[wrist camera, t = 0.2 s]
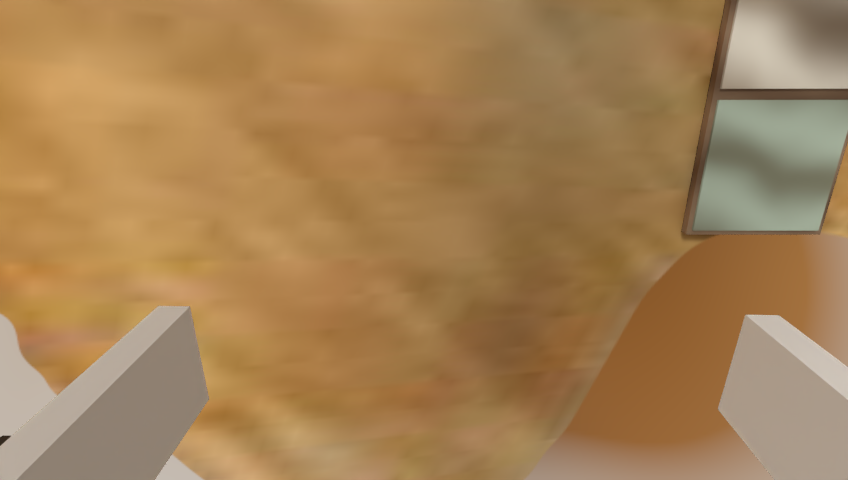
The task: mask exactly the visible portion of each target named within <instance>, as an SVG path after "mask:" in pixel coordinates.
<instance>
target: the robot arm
mask: <svg viewBox="0 0 848 480" xmlns="http://www.w3.org/2000/svg"><path fill="white" fill-rule="evenodd" d="M208 400H209V396H208V391H207V387H206V382H205V377H204V372H203V367H202V363H201V358H200V353H199V348H198V343H197V339H196V334H195V329H194V324H193V319H192V315H191V310H190V306H158V307H157V308H156V309H154V310H153V311H152V312H151V313H150V314H149V315H148V316H147V317H145V318H144V319H143V320H142V321H141V322H140V323H139V324H138V325H136V326H135V327H134V328H133V329H132V330H131V331H130V332H128V333H127V334H126V335H125V336H124V337H123V338H122V339H121V340H119V341H118V342H117V343H116V344H115V345H114V346H113V347H112V348H110V349H109V350H108V351H107V352H106V353H105V354H104V355H102V356H101V357H100V358H99V359H98V360H97V361H96V362H95V363H93V364H92V365H91V366H90V367H89V368H88V369H87V370H86V371H84V372H83V373H82V374H81V375H80V376H79V377H78V378H76V379H75V380H74V381H73V382H72V383H71V384H70V385H69V386H67V387H66V388H65V389H64V390H63V391H62V392H61V393H60V394H58V395H57V396H56V397H55V398H54V399H53V400H52V401H51V402H49V403H48V404H47V405H46V406H45V407H44V408H43V409H41V410H40V411H39V412H38V413H37V414H36V415H35V416H33V417H32V418H31V419H30V420H29V421H28V422H27V423H26V424H25V425H23V426H22V427H21V428H20V429H19V430H18V431H17V432H15V434H13V435H12V436H2V437H0V480H155V479H156V477H157V476H158V474H159V473H160V471H161V470H162V468H163V467H164V465H165V464H166V462H167V461H168V459H169V458H170V456H171V455H172V453H173V452H174V450H175V449H176V447H177V446H178V444H179V443H180V441H181V440H182V439H183V437H184V436H185V434H186V433H187V431H188V430H189V428H190V427H191V425H192V424H193V422H194V421H195V419H196V418H197V416H198V415H199V413H200V412H201V410H202V409H203V407H204V406H205V404H206V403H207V401H208ZM718 410H719V411H720V412H721V414H722V415H723V416H724V417H725V419H726V420H727V421H728V422H729V424H730V425H731V426H732V427H733V429H734V430H735V431H736V432H737V434H738V435H739V436H740V437H741V439H742V440H743V441H744V442H745V444H746V445H747V446H748V447H749V449H750V450H751V451H752V452H753V454H754V455H755V456H756V457H757V459H758V460H759V461H760V462H761V464H762V465H763V466H764V467H765V469H766V470H767V471H768V472H769V474H770V475H771V476H772V477H773V479H774V480H848V367H847V366H846V365H844V364H843V363H842V362H840V361H839V360H838V359H836V358H835V357H834V356H832V355H831V354H830V353H828V352H827V351H826V350H824V349H823V348H822V347H820V346H819V345H818V344H816V343H815V342H814V341H812V340H811V339H810V338H808V337H807V336H806V335H804V334H803V333H802V332H800V331H799V330H798V329H796V328H795V327H794V326H792V325H791V324H790V323H788V322H787V321H786V320H784V319H783V318H782V317H780V316H779V315H745V318H744V321H743V325H742V328H741V331H740V335H739V339H738V342H737V345H736V349H735V352H734V356H733V359H732V362H731V366H730V369H729V373H728V376H727V380H726V383H725V386H724V390H723V393H722V397H721V400H720V404H719V407H718Z"/></svg>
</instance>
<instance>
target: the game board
mask: <svg viewBox="0 0 848 480" xmlns="http://www.w3.org/2000/svg"><path fill="white" fill-rule="evenodd" d="M847 141H848V0H726V1H725V7H724V12H723V17H722V22H721V28H720V33H719V38H718V43H717V49H716V54H715V59H714V64H713V69H712V75H711V80H710V85H709V90H708V96H707V101H706V106H705V111H704V117H703V122H702V127H701V132H700V137H699V143H698V148H697V153H696V158H695V164H694V169H693V174H692V179H691V185H690V190H689V195H688V200H687V205H686V211H685V216H684V221H683V226H682V232H683V233H684V234H820V233H821V229H822V226H823V223H824V219H825V216H826V213H827V209H828V206H829V202H830V199H831V196H832V192H833V189H834V185H835V182H836V179H837V175H838V172H839V169H840V165H841V162H842V158H843V155H844V152H845V148H846V145H847Z"/></svg>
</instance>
